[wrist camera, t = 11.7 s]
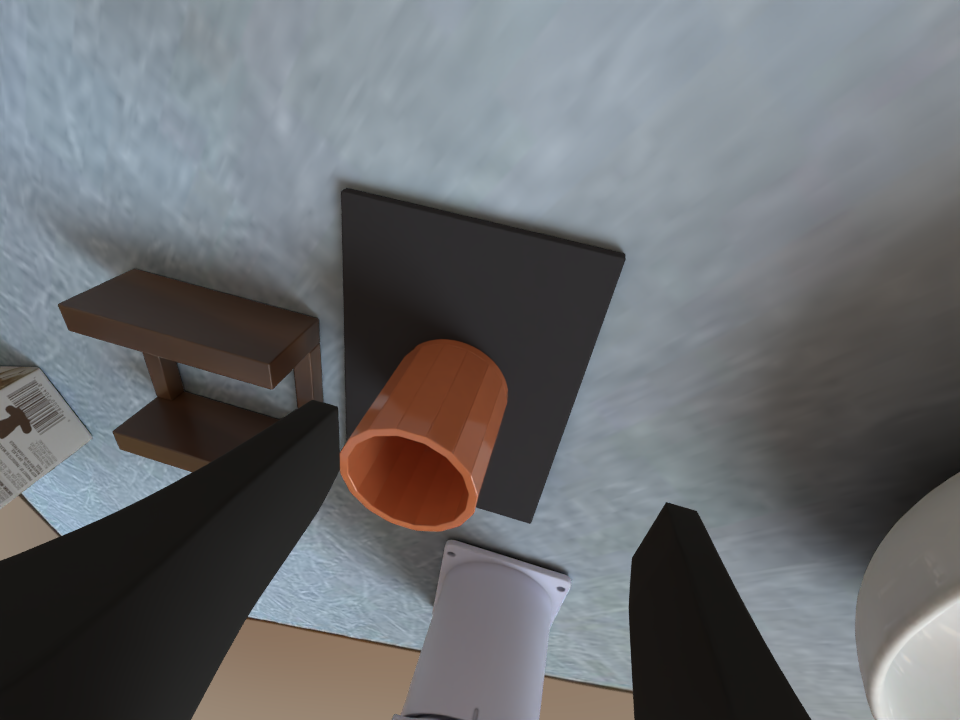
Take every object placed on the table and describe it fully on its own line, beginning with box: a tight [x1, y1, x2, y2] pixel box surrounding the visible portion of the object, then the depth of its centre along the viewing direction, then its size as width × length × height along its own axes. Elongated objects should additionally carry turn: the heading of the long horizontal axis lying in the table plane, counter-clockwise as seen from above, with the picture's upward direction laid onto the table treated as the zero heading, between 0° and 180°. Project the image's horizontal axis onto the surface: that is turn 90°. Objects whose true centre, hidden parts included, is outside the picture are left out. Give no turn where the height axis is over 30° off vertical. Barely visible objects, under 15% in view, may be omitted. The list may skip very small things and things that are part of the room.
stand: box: [58, 269, 323, 472], centre depth 24 cm, size 9×10×4 cm
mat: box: [341, 188, 625, 524], centre depth 22 cm, size 16×11×1 cm
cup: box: [340, 339, 508, 532], centre depth 20 cm, size 5×5×6 cm
